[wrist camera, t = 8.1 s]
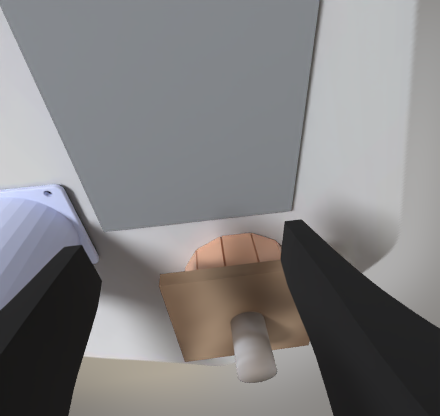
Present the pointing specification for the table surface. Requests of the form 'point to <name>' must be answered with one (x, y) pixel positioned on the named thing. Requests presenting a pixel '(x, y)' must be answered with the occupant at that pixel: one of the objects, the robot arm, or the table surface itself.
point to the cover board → (234, 315)
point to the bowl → (234, 251)
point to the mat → (173, 101)
